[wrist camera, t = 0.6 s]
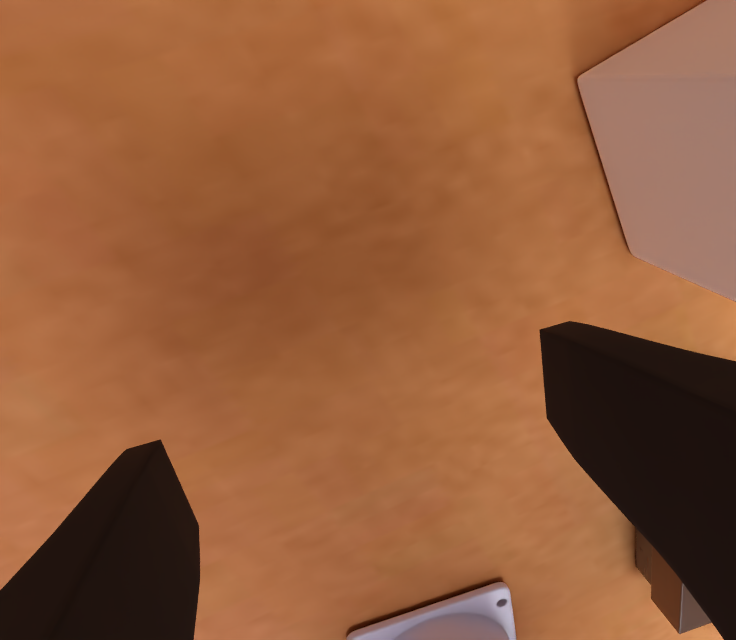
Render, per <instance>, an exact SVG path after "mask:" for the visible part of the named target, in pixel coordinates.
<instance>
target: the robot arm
mask: <svg viewBox="0 0 736 640" xmlns="http://www.w3.org/2000/svg"><path fill="white" fill-rule="evenodd" d="M540 340H541V353H542V365H543V377H544V389H545V402H546V414H547V419H548V421H549V422H550V424H551V425H552V427H553V428H554V430H555V431H556V433H557V434H558V436H559V437H560V439H561V440H562V442H563V443H564V445H565V446H566V448H567V449H568V451H569V452H570V453H571V455H572V456H573V458H574V459H575V460H576V461H577V463H578V464H579V465H580V466H581V467H582V468H583V469H584V471H585V472H586V473H587V474H588V475H589V476H590V477H591V478H592V480H593V481H594V482H595V483H596V484H597V485H598V486H599V487H600V489H601V490H602V491H603V492H604V493H605V494H606V495H607V496H608V497H609V499H610V500H611V501H612V502H613V503H614V504H615V505H616V506H617V507H618V509H619V510H620V511H621V512H622V513H623V514H624V515H625V516H626V517H627V518H628V520H629V521H630V522H631V523H632V524H633V525H634V526H635V527H636V528H637V530H638V531H639V532H640V533H641V534H642V535H643V536H644V537H645V538H646V539H647V541H648V542H649V543H650V544H651V545H652V546H653V547H654V548H655V549H656V551H657V552H658V553H659V554H660V555H661V557H662V558H663V559H664V560H665V561H666V563H667V564H668V565H669V566H670V567H671V569H672V570H673V571H674V572H675V573H676V575H677V576H678V577H679V579H680V580H681V581H682V583H683V584H684V585H685V587H686V588H687V590H688V591H689V592H690V594H691V595H692V596H693V598H694V599H695V600H696V602H697V603H698V604H699V606H700V607H701V608H702V610H703V611H704V612H705V614H706V615H707V617H708V618H709V619H710V621H711V622H712V623H713V625H714V626H715V627H716V629H717V630H718V632H719V633H720V635H721V636H722V637H723V639H724V640H736V361H732V360H727V359H722V358H718V357H713V356H709V355H704V354H700V353H696V352H692V351H688V350H684V349H680V348H676V347H672V346H668V345H664V344H660V343H657V342H653V341H649V340H645V339H642V338H638V337H634V336H631V335H627V334H623V333H619V332H616V331H612V330H608V329H604V328H600V327H596V326H592V325H588V324H583V323H578V322H572V321H568V322H565V323H561V324H558V325H554V326H551V327H547V328H544V329H541V330H540ZM199 584H200V546H199V525H198V522H197V520H196V518H195V516H194V513H193V511H192V509H191V507H190V504H189V502H188V500H187V498H186V495H185V493H184V491H183V489H182V486H181V484H180V482H179V480H178V477H177V475H176V473H175V471H174V468H173V466H172V464H171V462H170V459H169V457H168V455H167V453H166V450H165V448H164V446H163V444H162V441H161V439H160V440H157V441H154V442H150V443H147V444H143V445H140V446H136V447H133V448H129V449H126V450H125V451H124V452H123V453H122V454H121V455H120V456H119V457H118V458H117V459H116V460H115V461H114V463H113V464H112V465H111V466H110V467H109V468H108V469H107V471H106V472H105V473H104V474H103V475H102V476H101V478H100V479H99V480H98V481H97V482H96V483H95V485H94V486H93V487H92V488H91V489H90V491H89V492H88V493H87V494H86V495H85V497H84V498H83V499H82V500H81V501H80V502H79V504H78V505H77V506H76V507H75V508H74V509H73V511H72V512H71V513H70V514H69V515H68V516H67V518H66V519H65V520H64V521H63V522H62V523H61V525H60V526H59V527H58V528H57V529H56V530H55V532H54V533H53V534H52V535H51V536H50V537H49V538H48V540H47V541H46V542H45V543H44V544H43V545H42V546H41V547H40V548H39V549H38V550H37V551H36V553H35V554H34V555H33V556H32V557H31V558H30V559H29V560H28V561H27V562H26V563H25V564H24V566H23V567H22V568H21V569H20V570H19V571H18V572H17V573H16V574H15V575H14V576H13V577H12V579H11V580H10V581H9V582H8V583H7V584H6V585H5V586H4V587H3V588H2V589H1V590H0V640H193V639H194V631H195V622H196V612H197V603H198V594H199ZM346 640H517V639H516V631H515V624H514V617H513V610H512V602H511V595H510V590H509V588H508V587H507V585H506V584H505V583H504V582H497V583H493V584H490V585H488V586H485V587H482V588H479V589H476V590H473V591H470V592H467V593H464V594H461V595H458V596H455V597H452V598H449V599H446V600H443V601H440V602H437V603H434V604H432V605H429V606H426V607H423V608H420V609H417V610H414V611H411V612H408V613H405V614H402V615H399V616H396V617H393V618H390V619H387V620H384V621H381V622H378V623H376V624H373V625H370V626H367V627H364V628H361V629H358V630H355V631H353V632H351V633H350V634H349V635H348V636H347V638H346Z"/></svg>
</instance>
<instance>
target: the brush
mask: <svg viewBox="0 0 736 640" xmlns="http://www.w3.org/2000/svg"><path fill="white" fill-rule="evenodd" d="M636 567H637V568H638V570H639V571H640V572H641V573H642V575H643V576H644V577H645V578H646V580H647V581H648V582H649V583H650V584H651V599H652V600H653V602H654V603H655V604H656V605H657V607H658V608H659V609H660V610H661V612H662V613H663V614H664V616H665V617H666V618H667V619H668V621H669V622H670V623H671V624H672V626H673V627H674V628H675V629H676V631H677V632H678V633H679V634H681V633H684V632H687V631H690V630H692V629H695V628H698V627H701V626H704V625H706V624H709V623H712V622H711V621H710V619H709V618H708V617H707V615H706V614H705V612H704V611H703V610H702V608H701V607H700V606H699V604H698V603H697V602H696V600H695V599H694V598H693V596H692V595H691V594H690V592H689V591H688V590H687V588H686V587H685V585H684V584H683V583H682V581H681V580H680V579H679V577H678V576H677V575H676V573H675V572H674V571H673V570H672V569H671V567H670V566H669V565H668V564H667V563H666V561H665V560H664V559H663V558H662V557H661V555H660V554H659V553H658V552H657V551H656V549H655V548H654V547H653V546H652V545H651V544H650V543H649V542H648V541H647V539H646V538H645V537H644V536H643V535H642V534H641V533H640V532H639V531H638V530H637V528H636Z"/></svg>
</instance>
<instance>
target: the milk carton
mask: <svg viewBox="0 0 736 640" xmlns="http://www.w3.org/2000/svg"><path fill="white" fill-rule="evenodd" d="M577 81H578V86H579V90H580V94H581V97H582V100H583V104H584V107H585V110H586V113H587V117H588V120H589V123H590V126H591V129H592V133H593V136H594V139H595V142H596V145H597V149H598V152H599V155H600V158H601V161H602V165H603V168H604V171H605V174H606V177H607V181H608V184H609V187H610V190H611V193H612V197H613V200H614V203H615V206H616V209H617V213H618V216H619V219H620V222H621V225H622V229H623V232H624V235H625V238H626V241H627V244H628V247H629V250H630V252H631V254H632V255H633V256H635V257H636V258H639V259H641V260H643V261H645V262H648V263H650V264H652V265H654V266H657V267H659V268H661V269H663V270H665V271H668V272H670V273H672V274H674V275H677V276H679V277H681V278H683V279H686V280H688V281H690V282H692V283H695V284H697V285H699V286H701V287H704V288H706V289H708V290H710V291H713V292H715V293H717V294H719V295H722V296H724V297H726V298H728V299H731V300H733V301H735V302H736V0H706V1H705V2H703V3H701V4H700V5H698V6H696V7H695V8H693V9H691V10H689V11H688V12H686V13H684V14H683V15H681V16H679V17H678V18H676V19H674V20H673V21H671V22H669V23H667V24H666V25H664V26H662V27H661V28H659V29H657V30H656V31H654V32H652V33H650V34H649V35H647V36H645V37H644V38H642V39H640V40H639V41H637V42H635V43H634V44H632V45H630V46H628V47H627V48H625V49H623V50H622V51H620V52H618V53H617V54H615V55H613V56H612V57H610V58H608V59H606V60H605V61H603V62H601V63H600V64H598V65H596V66H595V67H593V68H591V69H590V70H588V71H586V72H584V73H583V74H581V75H580V76H579V77H578V80H577Z"/></svg>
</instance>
